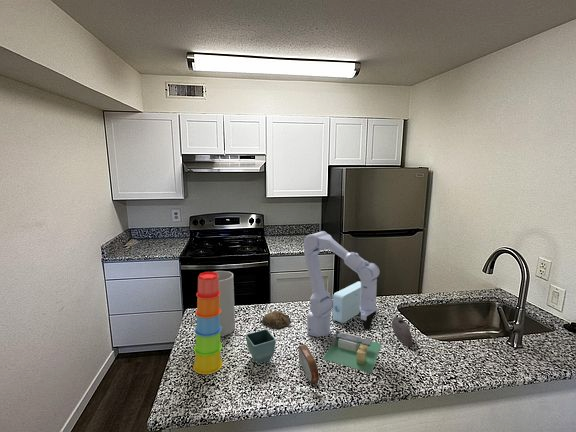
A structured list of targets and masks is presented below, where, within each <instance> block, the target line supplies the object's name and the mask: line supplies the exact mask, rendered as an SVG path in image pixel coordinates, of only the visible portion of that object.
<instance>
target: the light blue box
mask: <svg viewBox="0 0 576 432" xmlns="http://www.w3.org/2000/svg"><path fill="white" fill-rule="evenodd" d="M360 295H361V280H360V281H359V280H358V281H356V282H354V283H352V284H350V285H348V286H346V287H345V288H344V287H343V288H342V289H340V290H339V291H336V292H334V294H333V295H332V300H333V303H334V306H333V308H332V320H333V321H335V322H338V323H341V324H345V323H346V322H348V321H349V320H351V319H352V318H353V317H356V316H357V315H358V314H359V312H360Z"/></svg>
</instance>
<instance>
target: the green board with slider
mask: <svg viewBox="0 0 576 432" xmlns="http://www.w3.org/2000/svg"><path fill="white" fill-rule="evenodd" d="M336 332H339V334H344V335H348V336H353V337H357V338H361V336H359V335H354V334H351V333H347V332H342V333H340V330H339V329H335V333H336ZM360 345H361V344H360V343H356V342H351V341H347V340H343V339H338V338H336V336H334V335H331V345H330V346H329V348H328V349H327V351H326V352H325V354H324V355H323V357H322V360H325V361H327V362H331V363H335V364H337V365H342V366H345V367H348V368H352V369H355V370H359V371H362V372H366V373H369V374H372V373H373V370H374V367H375V364H376V362H377V359H378V356H379V353H380V350H381V347H382V345H383V344H382V343H380V342H378V341H373V340H372V343H371V345H370V347H369V346H368V349H367V361H366V364H365V366H364V365H361V364H357V363H356V359H357V350H358V348H359V347H360Z"/></svg>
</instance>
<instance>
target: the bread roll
mask: <svg viewBox="0 0 576 432" xmlns="http://www.w3.org/2000/svg"><path fill="white" fill-rule="evenodd" d="M291 319H292V318H291V317H289V316H288V315H287V314H285V313H284V312H282V311H281V310H274V311H270V312H268V313H266V314H265V315H264V316H263V317H262V318H261V322H262V323H263V325H264V326H267V327H268V328H272V329H275V330H276V329H277V330H278V329H281V328H283V327H289V326H290V325H291Z"/></svg>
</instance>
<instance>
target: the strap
mask: <svg viewBox="0 0 576 432" xmlns="http://www.w3.org/2000/svg"><path fill="white" fill-rule="evenodd" d="M333 336H336V338H338V339H343V340H347V341H351V342H356V343H360V344H362V345H366V346H369V347H370V345H371V343H372V341H373V339H370V338H366V337H364V338H362V337H360V338H357V337H353V336H348V335H344V334H342V333H340V334H339V332H336V331H335V332H334V334H333Z"/></svg>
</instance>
